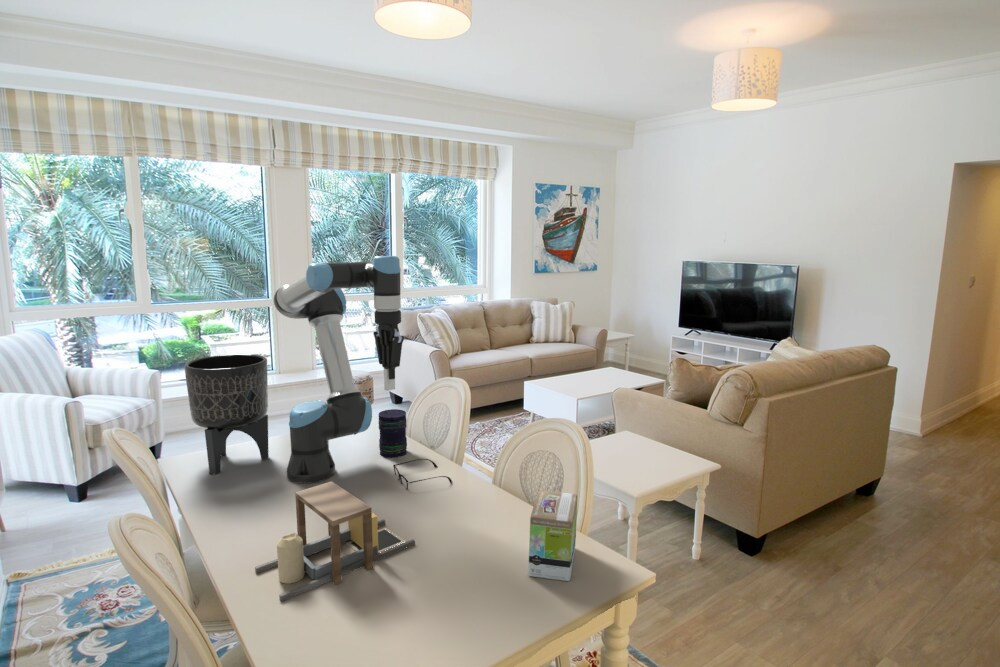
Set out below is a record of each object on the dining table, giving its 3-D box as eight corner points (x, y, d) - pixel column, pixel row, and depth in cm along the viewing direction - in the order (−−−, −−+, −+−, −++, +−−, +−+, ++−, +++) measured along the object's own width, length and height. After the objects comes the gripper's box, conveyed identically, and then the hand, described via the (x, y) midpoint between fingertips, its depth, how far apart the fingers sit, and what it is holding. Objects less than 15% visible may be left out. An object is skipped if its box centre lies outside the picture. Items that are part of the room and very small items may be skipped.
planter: (180, 463, 195) (171, 361, 189) (251, 443, 213) (245, 351, 208) (212, 483, 179) (204, 373, 173) (286, 460, 198) (281, 360, 192)
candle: (297, 567, 133) (295, 527, 131) (309, 576, 129) (307, 535, 128) (274, 577, 129) (271, 536, 127) (286, 587, 125) (283, 545, 124)
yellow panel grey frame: (292, 559, 135) (290, 520, 134) (354, 535, 146) (352, 499, 145) (314, 581, 127) (312, 539, 125) (378, 554, 138) (377, 515, 136)
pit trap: (346, 543, 143) (345, 542, 143) (385, 528, 151) (385, 527, 151) (365, 558, 136) (365, 558, 136) (406, 542, 144) (406, 541, 144)
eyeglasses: (391, 474, 187) (390, 463, 186) (436, 466, 194) (436, 455, 194) (406, 494, 173) (406, 481, 172) (454, 484, 180) (454, 472, 179)
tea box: (571, 582, 128) (573, 521, 125) (527, 577, 130) (528, 516, 127) (576, 547, 142) (577, 492, 140) (536, 543, 144) (537, 488, 142)
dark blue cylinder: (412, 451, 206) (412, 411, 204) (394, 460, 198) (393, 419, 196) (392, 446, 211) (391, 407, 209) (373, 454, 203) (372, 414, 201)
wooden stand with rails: (251, 567, 133) (247, 506, 130) (379, 520, 155) (377, 467, 153) (285, 606, 118) (281, 539, 116) (420, 548, 141) (419, 490, 139)
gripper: (411, 310, 161) (413, 391, 165) (386, 306, 171) (388, 383, 174) (388, 313, 156) (390, 396, 160) (364, 308, 166) (367, 387, 169)
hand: (389, 389), depth 167 cm, fingers closed
